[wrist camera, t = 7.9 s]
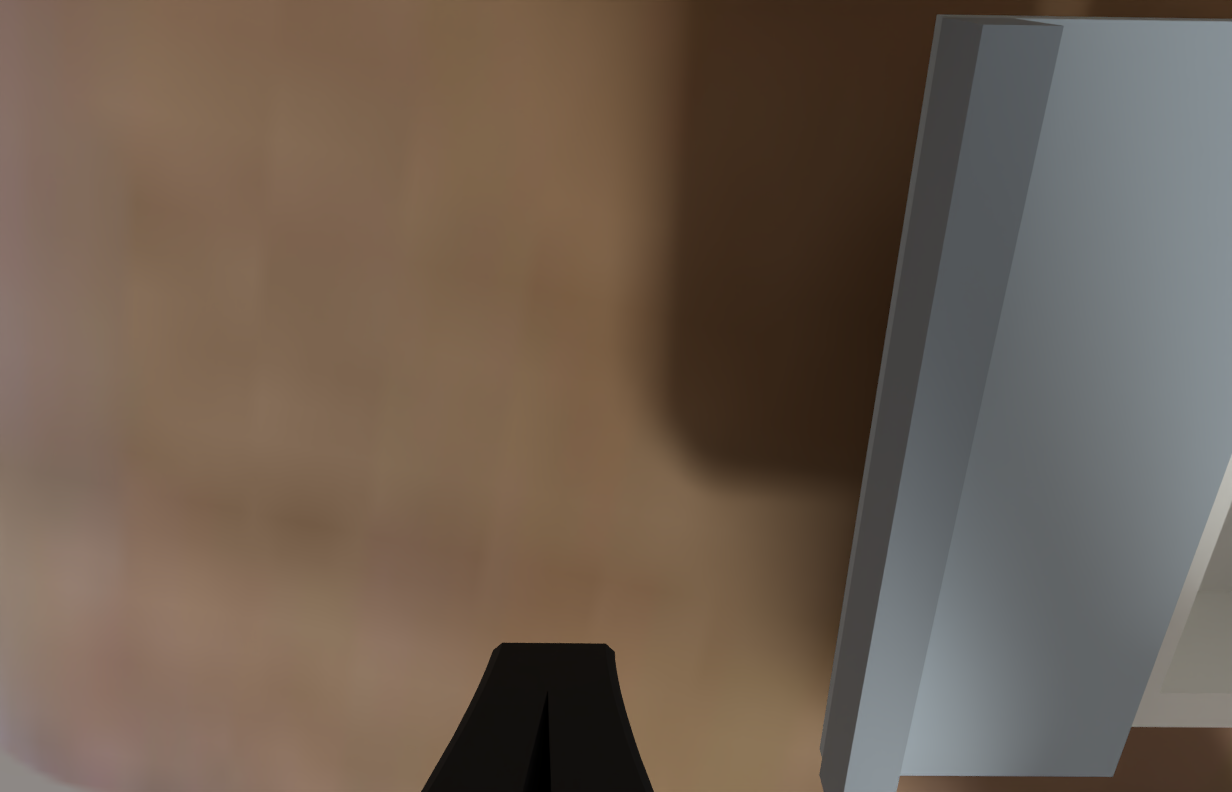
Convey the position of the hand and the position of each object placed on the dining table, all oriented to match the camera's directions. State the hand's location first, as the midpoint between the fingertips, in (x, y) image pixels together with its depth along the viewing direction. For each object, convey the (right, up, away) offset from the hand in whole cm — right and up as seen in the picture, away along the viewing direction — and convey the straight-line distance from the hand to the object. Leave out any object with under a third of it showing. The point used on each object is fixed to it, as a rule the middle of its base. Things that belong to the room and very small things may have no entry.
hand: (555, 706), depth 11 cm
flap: (+8, +3, +6) cm, 10 cm away
